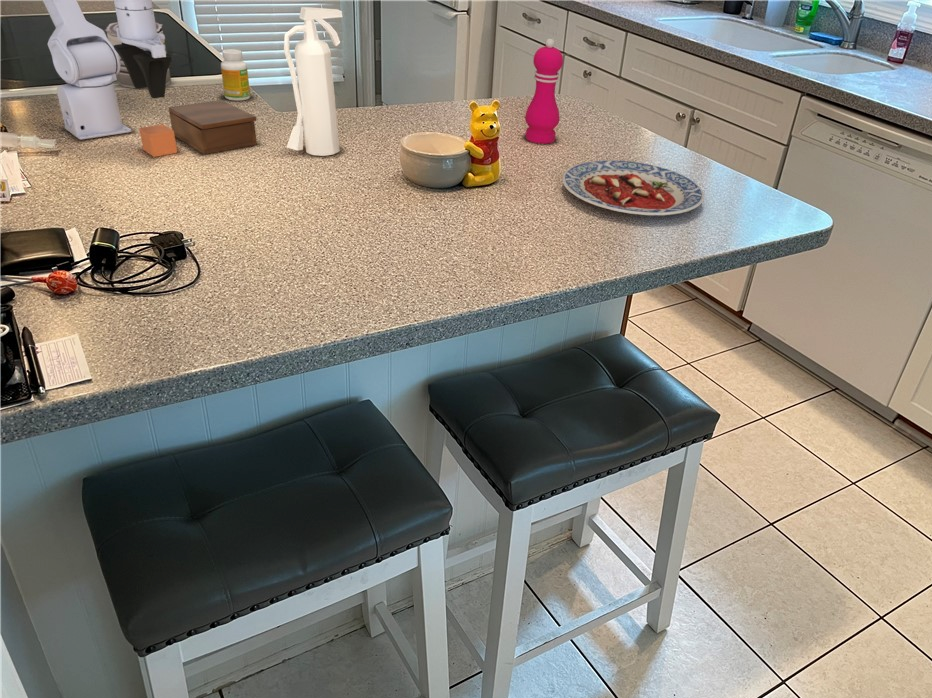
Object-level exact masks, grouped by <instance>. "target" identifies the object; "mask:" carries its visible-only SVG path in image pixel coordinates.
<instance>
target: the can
mask: <svg viewBox="0 0 932 698" xmlns="http://www.w3.org/2000/svg"><path fill="white" fill-rule="evenodd" d="M155 23H156V29H157V33H161V34H164V30H163V29H162V28H163V26H164V24H163V23H159V22H157V21H155ZM118 27H119V25H118V21H117V22H112V23H109V24H108V25H107V27H105V29H104V32H105V31H106V37H107V38H108V40H109V41H110V43H111V44H112V45H113V46H114V45H118V44H122V42H121V41H120V40H118V37H117V32H116V28H118ZM160 41H161V43H162V44H163V45H164V47H165V52H166V54H168V53H167V48H166V43H165V41H166V40H165V39H164V40H160ZM118 55H119V54H118ZM119 57H120V56H119ZM120 63H121V66H120V71H119V73H118V74H117V75H116V78H117V80H116V83H117V84H118V85H120V86H121V87H122V88H128V89H134V90H135V89H136V88H135V87H134V85H133V83H132V80H131V78H130V75H129V73H128V71H127V68H126V66H125V64H124V62H123V61H122V59H121V57H120ZM171 78H172V77H171V72H170V66H169V67H168V71H167V75H166V86H165V87H167V86H168V85H170V84H171V82H172V79H171ZM136 90H137V89H136ZM138 90H148V88H139V89H138Z"/></svg>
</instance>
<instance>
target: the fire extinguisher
mask: <svg viewBox="0 0 932 698" xmlns="http://www.w3.org/2000/svg"><path fill="white" fill-rule="evenodd" d="M339 18H343V11H342V10H340V9H338V8H325V7H309V6H301V7H300V13H299V19H300V20H302V21H303V24H300V25H294V26H293V27H292V28H290V29H289V30H288V31H286V32H285V33H284V37H283V38H284V39H283V41H284V42H283V52H284V55H285V58H286V63H287V65H288V68H289V72H290V76H291V77H290V78H291V83H292V91H293V95H294V100H295V105H296V111H297V117H296V123H295V125H294V126H293V127H292V130H291V133H290V136H289V139H288V142H287V144H286V148H287V149H290V150H294V151H303V149H304V147H305V152H306V153H307V154H309V155H311V156H318V157H319V156H321V157H325V156H331V155H335V154H337V153H340V150H341V149H340V139H339V130H338V118H337V106H336V96H335V95H336V94H335V86H334V75H333V65H332V53H331V48H330V46H329V44H328V42H326V41H324V40H322V39H320V37H319V33H318V30H317V25H316V22H317V23H318V24H320V25H321V26H322V28H323V29H324V30H325V31H326V32H327V34H328V36H329V38H330V40H331V42H332V45H333V46H335V47H338V46H339V45H340V44H341V41H340V37H339V35H338V32H337V31H336V30H335V28H334V27H332V25H331V24H330V23H328V22H327V21H326V19H339ZM324 19H325V20H324ZM315 21H316V22H315ZM298 32H300V33H301V32H303V39H301V40H299V41H298V42H296V43H295V47H294V61H295V64H294V61H293V58H292V55H291V52H290V51H291V49H290V43H291V42H290V38H291V37H292V36H294V35H295V34H296V33H298ZM304 145H305V146H304Z"/></svg>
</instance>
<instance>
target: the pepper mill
mask: <svg viewBox="0 0 932 698" xmlns="http://www.w3.org/2000/svg"><path fill="white" fill-rule="evenodd" d="M554 46H555V40H554V38H547V39H546V41H545V46H541V47H539V48H538V49H537V50H536V51H535V53H534V55H533V66H534V68H535V69H536V70H535V71H534V77H533V79H534V80H535V90H534V93H533V97H532V99H531V101H530V103H529V105H528V106H527V109H526V111H525V115H524V116H525V117H524V121H525V123H526V125H527V126H528V127H527V128H526V131H525V139H526V140H527V141H529V142H532V143H534V144H535V143H536V144H544V145H545V144H551V143H553V142H555V140H556V130H555V129H556V128H557V126H558V125H559V123H560V111H559V107H558V104H557V100H556V84H557V82H559V80H560V79H559V77H560V73H559V71H560V70H561V69H562V68H563V65H564V56H563V54H562V52H561V50H559V49H558V48H557V47H554Z"/></svg>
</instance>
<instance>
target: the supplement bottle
mask: <svg viewBox="0 0 932 698" xmlns="http://www.w3.org/2000/svg"><path fill="white" fill-rule="evenodd" d="M222 58H223V59H224V60H222V61H221V62H220V72H221V78H222V79H221V80H222V87H223V95H224V98H225V99H227V100H228V101H235V102H236V101H237V102H239V101H247V100H249V99H250V98H251V91H250V81H249V73H248V71H249V70H248V64H247V63H246V62H245V61H244V60H243V51H242V50H240V49H237V48H236V49H235V48H226V49H224V50H222Z"/></svg>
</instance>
